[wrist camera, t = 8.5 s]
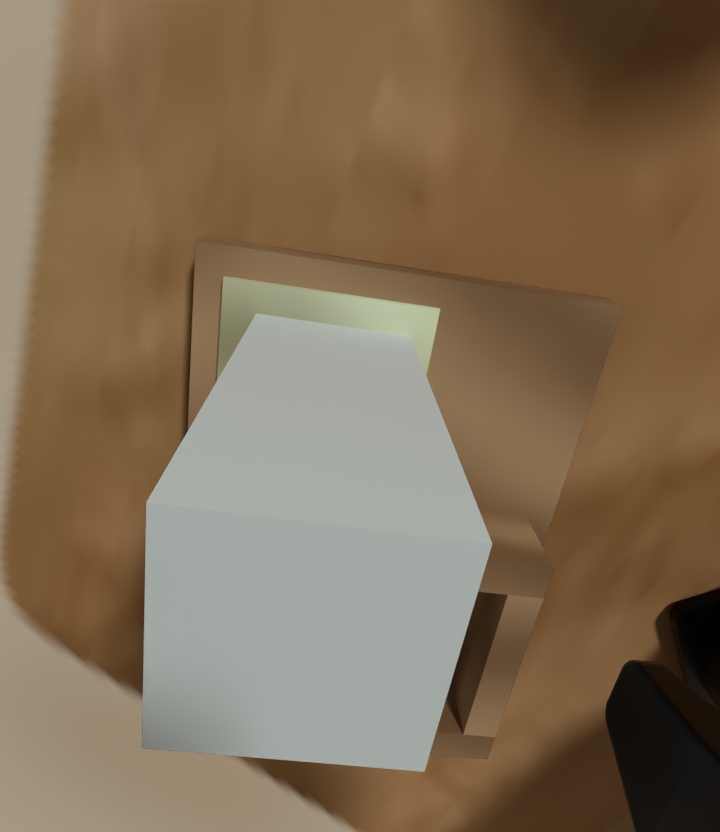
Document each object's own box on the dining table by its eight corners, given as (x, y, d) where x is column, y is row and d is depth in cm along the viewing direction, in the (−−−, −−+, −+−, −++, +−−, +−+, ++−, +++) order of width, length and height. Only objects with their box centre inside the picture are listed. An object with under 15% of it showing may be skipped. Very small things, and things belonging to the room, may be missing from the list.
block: (384, 470, 17) (424, 771, 8) (243, 452, 16) (141, 748, 8) (410, 336, 15) (492, 543, 7) (256, 313, 15) (146, 501, 7)
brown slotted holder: (486, 672, 22) (512, 761, 18) (184, 643, 21) (155, 732, 17) (607, 298, 16) (673, 331, 13) (204, 236, 15) (167, 254, 12)
